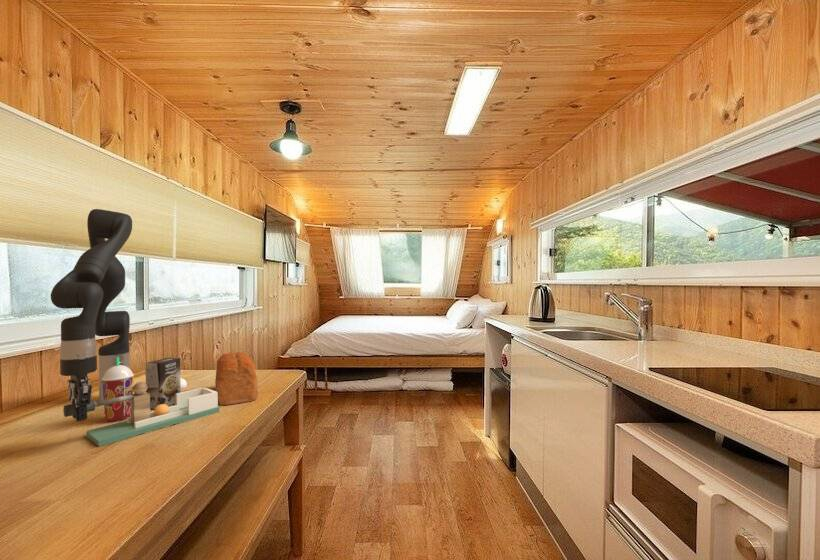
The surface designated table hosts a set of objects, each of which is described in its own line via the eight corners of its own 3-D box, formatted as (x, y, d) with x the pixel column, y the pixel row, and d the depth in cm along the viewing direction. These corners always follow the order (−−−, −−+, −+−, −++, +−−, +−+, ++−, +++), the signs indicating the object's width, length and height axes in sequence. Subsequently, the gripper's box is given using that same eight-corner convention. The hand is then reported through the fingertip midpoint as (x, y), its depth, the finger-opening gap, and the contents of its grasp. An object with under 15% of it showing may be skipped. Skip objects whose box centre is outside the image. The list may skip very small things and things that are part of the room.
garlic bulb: (174, 387, 157) (172, 368, 157) (190, 385, 158) (187, 366, 157) (166, 392, 151) (164, 372, 151) (182, 389, 151) (180, 370, 151)
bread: (251, 383, 160) (251, 348, 160) (259, 400, 137) (258, 359, 136) (215, 388, 153) (214, 352, 153) (216, 407, 130) (216, 364, 130)
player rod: (63, 439, 100) (62, 395, 100) (146, 417, 115) (145, 379, 115) (66, 443, 98) (66, 398, 98) (150, 420, 113) (150, 381, 113)
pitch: (86, 436, 107) (86, 413, 107) (202, 404, 132) (202, 386, 132) (98, 446, 100) (98, 422, 100) (219, 411, 125) (219, 392, 125)
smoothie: (141, 415, 123) (140, 355, 123) (113, 424, 115) (112, 360, 115) (123, 412, 125) (122, 353, 125) (95, 421, 118) (94, 358, 117)
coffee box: (160, 409, 128) (159, 363, 128) (145, 408, 129) (144, 362, 129) (181, 401, 137) (181, 357, 137) (167, 400, 138) (166, 357, 138)
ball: (151, 417, 116) (151, 405, 116) (166, 413, 120) (166, 401, 120) (156, 420, 114) (156, 407, 114) (171, 416, 117) (171, 403, 117)
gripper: (54, 355, 102) (55, 417, 102) (66, 361, 94) (67, 429, 94) (89, 350, 108) (90, 409, 108) (103, 356, 100) (104, 420, 100)
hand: (79, 418), depth 101 cm, fingers closed on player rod, 3 cm apart
